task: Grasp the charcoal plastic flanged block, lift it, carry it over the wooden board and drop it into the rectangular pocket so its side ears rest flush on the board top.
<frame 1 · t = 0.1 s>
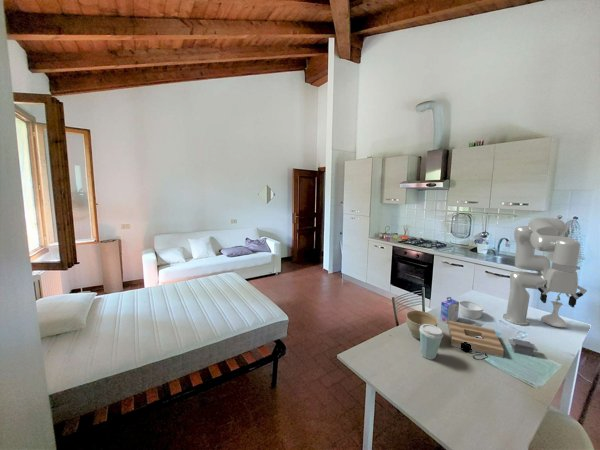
hand: (556, 303, 117), 31 cm above the table, tool pointing down, fingers open, 9 cm apart
ink cartridge box: (448, 320, 163), on the table
disposable coffee cup: (428, 355, 129), on the table
flower in vase: (553, 324, 159), on the table
flanged block: (521, 351, 133), on the table
planter bowl: (420, 335, 146), on the table
ramekin: (469, 315, 169), on the table
wooden board: (472, 340, 141), on the table
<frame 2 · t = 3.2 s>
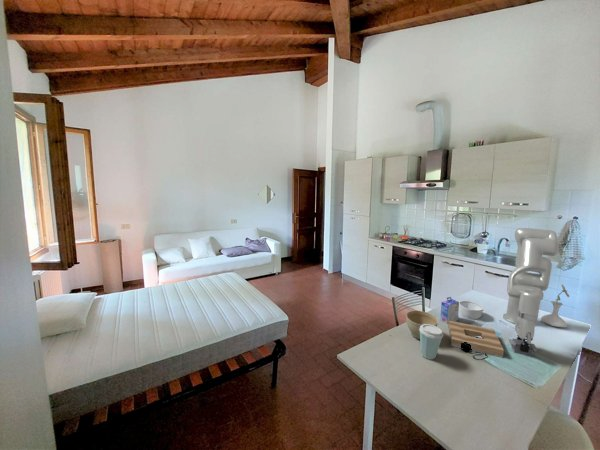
hand: (522, 347, 132), 2 cm above the table, tool pointing down, fingers closed on flanged block, 5 cm apart
flanged block: (521, 351, 133), on the table, touching gripper
everything else where it was.
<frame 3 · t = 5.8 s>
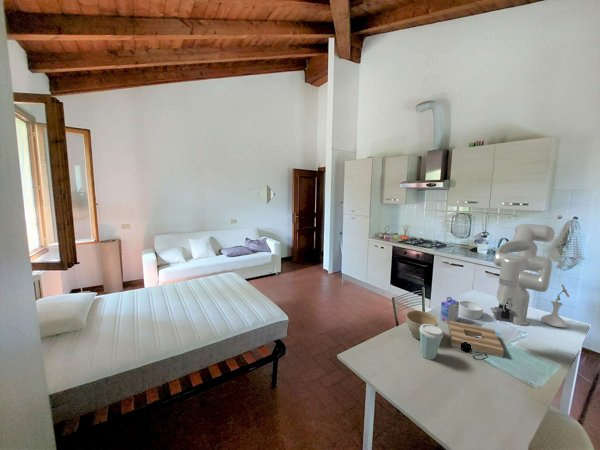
hand: (503, 315, 134), 18 cm above the table, tool pointing down, fingers closed on flanged block, 5 cm apart
flanged block: (502, 319, 134), point 16 cm above the table, touching gripper
everything else where it was.
when the fingers open (5 cm above the table, at t = 8.6 s): flanged block drops 2 cm, resting on wooden board.
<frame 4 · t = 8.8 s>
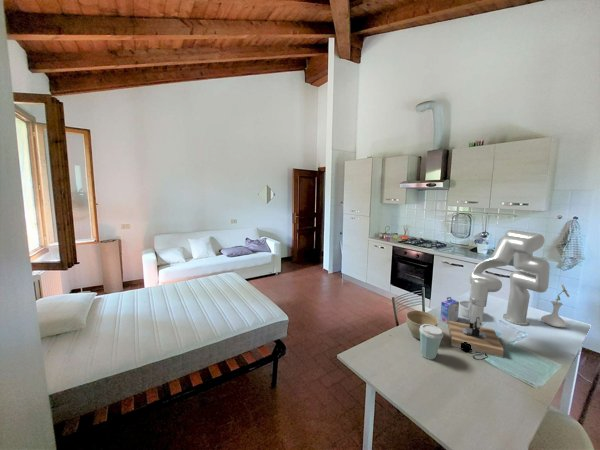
hand: (474, 331, 140), 5 cm above the table, tool pointing down, fingers open, 7 cm apart
flanged block: (473, 339, 141), resting on wooden board
everything else where it was.
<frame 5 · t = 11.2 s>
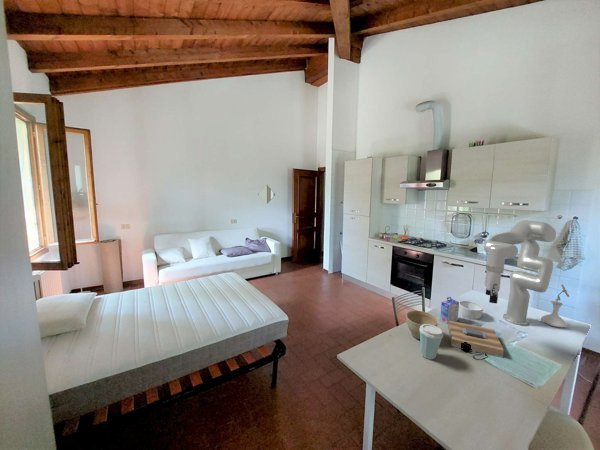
hand: (491, 298, 139), 23 cm above the table, tool pointing down, fingers open, 9 cm apart
nothing on the table moved.
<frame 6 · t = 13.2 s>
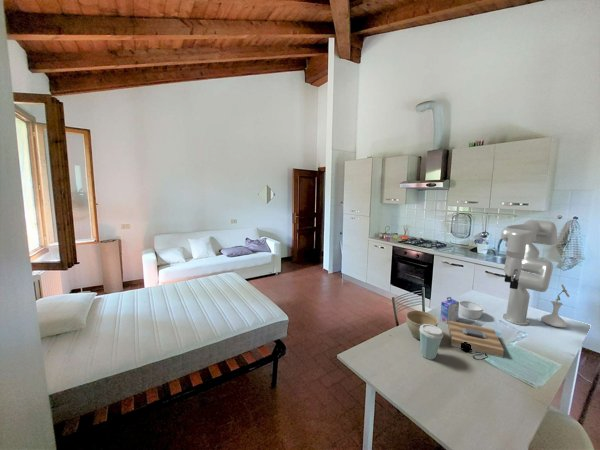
hand: (510, 285, 140), 30 cm above the table, tool pointing down, fingers open, 9 cm apart
nothing on the table moved.
at the end: flanged block 0.1 cm off-centre on the wooden board, point 0.5 cm above the wooden board's base; flanged block tilted 0°; the gripper is holding nothing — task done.
